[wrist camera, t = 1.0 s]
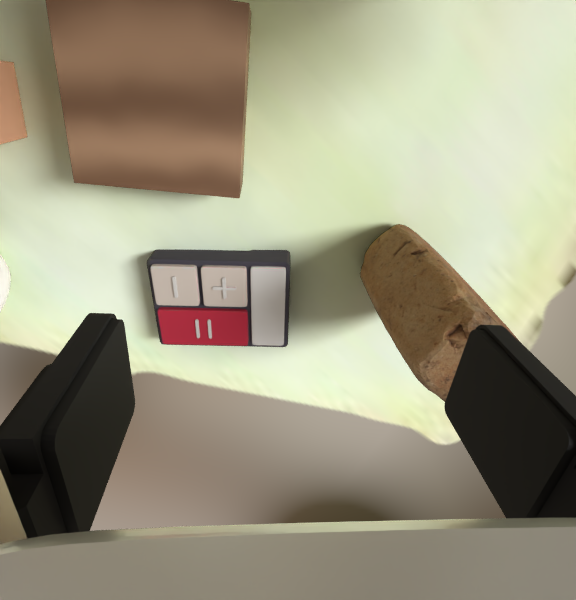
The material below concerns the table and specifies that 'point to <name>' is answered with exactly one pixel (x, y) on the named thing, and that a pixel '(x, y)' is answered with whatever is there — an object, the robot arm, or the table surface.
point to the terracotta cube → (10, 105)
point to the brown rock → (423, 305)
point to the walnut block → (154, 92)
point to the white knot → (4, 282)
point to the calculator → (221, 297)
